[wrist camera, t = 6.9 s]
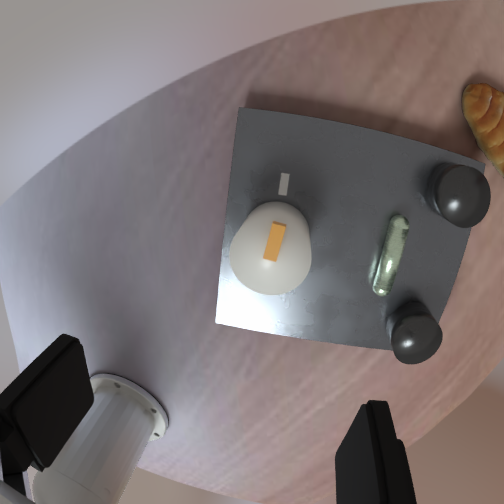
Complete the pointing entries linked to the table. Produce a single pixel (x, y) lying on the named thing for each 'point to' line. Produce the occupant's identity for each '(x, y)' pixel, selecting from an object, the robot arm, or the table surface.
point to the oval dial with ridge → (272, 249)
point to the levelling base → (353, 230)
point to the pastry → (486, 120)
